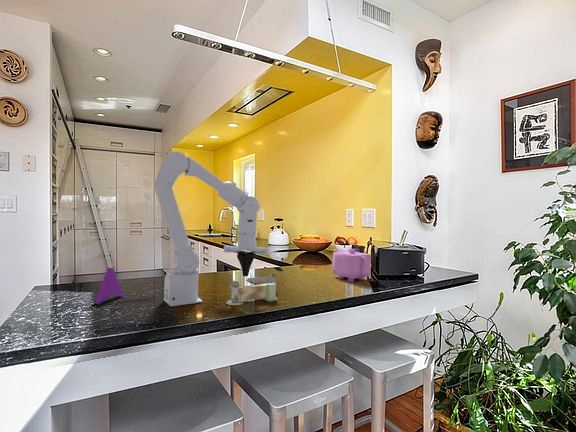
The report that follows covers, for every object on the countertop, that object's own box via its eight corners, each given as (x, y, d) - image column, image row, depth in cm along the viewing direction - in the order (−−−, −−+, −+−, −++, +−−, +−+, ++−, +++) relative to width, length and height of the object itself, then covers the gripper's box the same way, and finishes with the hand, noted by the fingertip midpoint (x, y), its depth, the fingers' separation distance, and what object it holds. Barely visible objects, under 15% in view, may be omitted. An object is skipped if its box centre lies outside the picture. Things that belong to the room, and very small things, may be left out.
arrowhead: (111, 315, 100) (90, 297, 93) (107, 314, 100) (86, 296, 94) (130, 286, 106) (112, 267, 100) (126, 285, 107) (108, 267, 100)
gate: (240, 301, 100) (241, 287, 100) (238, 300, 101) (238, 286, 101) (273, 297, 106) (273, 284, 106) (270, 295, 108) (270, 282, 107)
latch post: (268, 301, 103) (268, 285, 103) (264, 299, 105) (265, 283, 105) (277, 300, 105) (277, 284, 104) (273, 298, 106) (274, 282, 106)
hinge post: (230, 306, 96) (231, 283, 96) (223, 302, 100) (224, 279, 100) (246, 304, 99) (246, 281, 99) (238, 300, 103) (239, 278, 103)
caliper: (276, 291, 116) (276, 273, 116) (273, 292, 115) (273, 274, 115) (248, 280, 133) (248, 265, 133) (245, 281, 132) (246, 265, 132)
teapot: (374, 281, 136) (375, 250, 136) (356, 284, 131) (357, 252, 130) (341, 273, 153) (342, 245, 153) (324, 274, 148) (325, 246, 147)
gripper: (221, 233, 104) (219, 276, 105) (267, 235, 103) (265, 279, 103) (228, 232, 111) (226, 272, 112) (270, 233, 110) (269, 275, 110)
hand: (245, 275), depth 108 cm, fingers closed
